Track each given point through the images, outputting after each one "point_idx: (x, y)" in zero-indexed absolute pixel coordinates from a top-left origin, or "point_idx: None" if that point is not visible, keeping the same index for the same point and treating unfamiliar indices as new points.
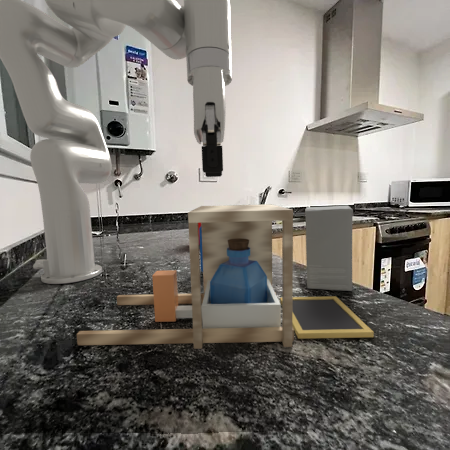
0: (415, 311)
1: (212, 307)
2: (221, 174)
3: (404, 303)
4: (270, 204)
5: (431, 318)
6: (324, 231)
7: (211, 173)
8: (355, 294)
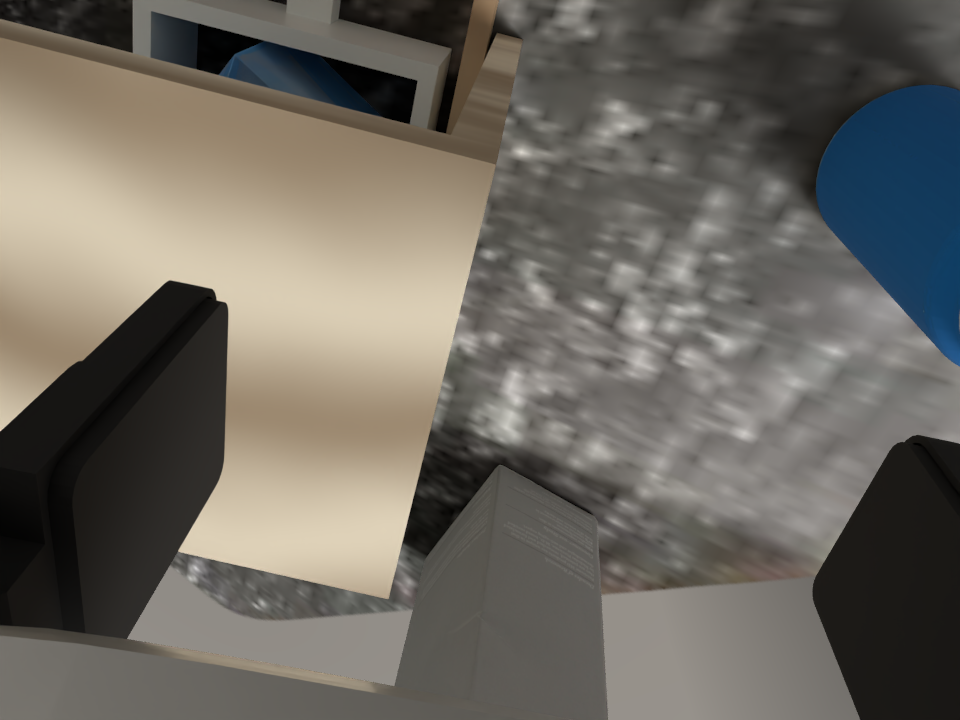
0: (274, 595)
1: (134, 30)
2: (824, 604)
3: (321, 609)
4: (360, 587)
5: (235, 594)
6: (429, 681)
7: (873, 515)
8: (408, 554)
